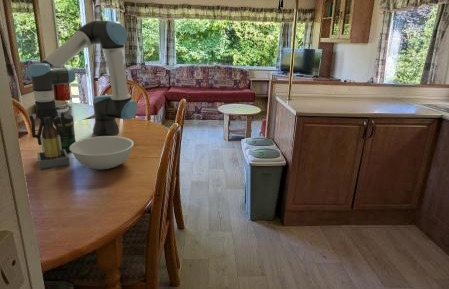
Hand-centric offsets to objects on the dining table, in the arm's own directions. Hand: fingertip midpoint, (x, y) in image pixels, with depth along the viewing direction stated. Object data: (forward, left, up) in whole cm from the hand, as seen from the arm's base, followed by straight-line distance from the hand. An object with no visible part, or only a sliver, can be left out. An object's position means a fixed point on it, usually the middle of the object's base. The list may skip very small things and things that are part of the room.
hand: (52, 150), depth 143 cm
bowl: (-14, +19, -7) cm, 24 cm away
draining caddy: (0, 0, -6) cm, 6 cm away
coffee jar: (-13, -13, -7) cm, 19 cm away
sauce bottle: (0, 0, -4) cm, 4 cm away
